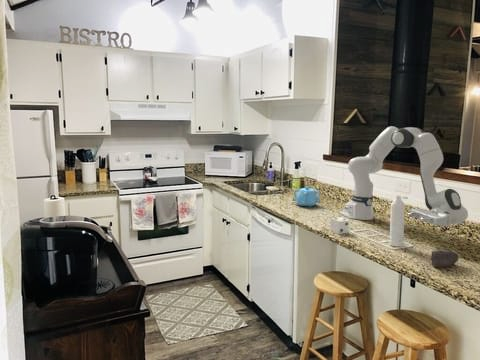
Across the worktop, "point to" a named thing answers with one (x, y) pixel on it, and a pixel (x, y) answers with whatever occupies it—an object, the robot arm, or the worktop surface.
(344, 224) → the die
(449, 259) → the perforated stone tool
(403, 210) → the white bottle
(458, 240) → the worktop surface
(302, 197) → the decorative pot
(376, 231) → the game track
